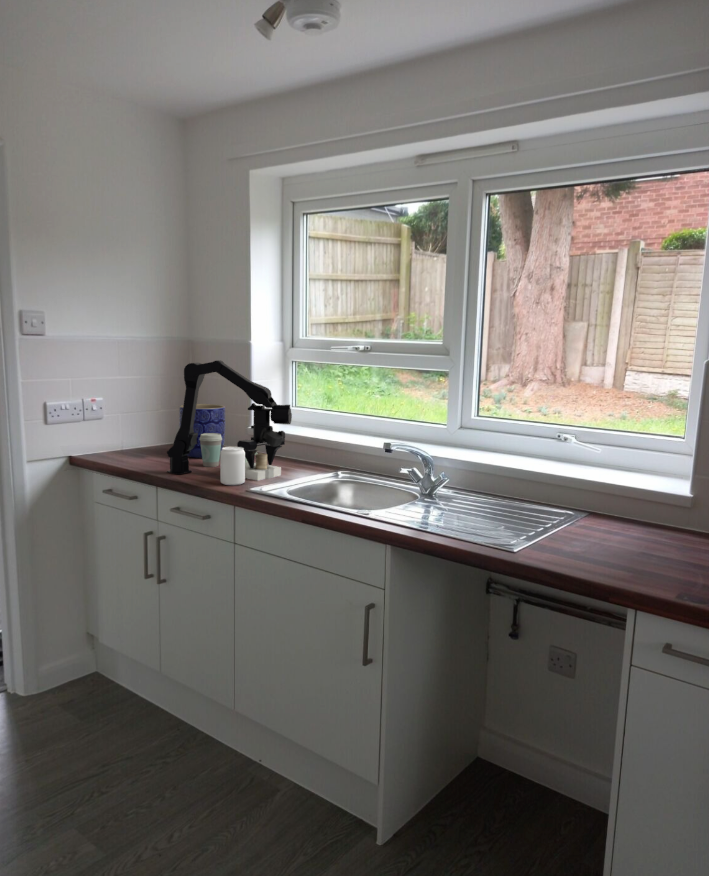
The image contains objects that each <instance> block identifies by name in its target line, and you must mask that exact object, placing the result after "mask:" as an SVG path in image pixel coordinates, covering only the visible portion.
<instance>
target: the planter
mask: <svg viewBox="0 0 709 876" xmlns="http://www.w3.org/2000/svg"><path fill="white" fill-rule="evenodd" d="M183 405H184V404H182V405H180V406H178V407H179V408H178V429H179V428H180V426H181V419H182V412H183ZM193 429H194V433H198V436H197V444H195V446H194V448H193V449H191V450H190V453H189V454H187V456H188V458H193V459H202V452H201V443H200V440H199V439H200V436H201V434H205V433H217V434H221V437H222V440H221V450H220V453H221V451H222V448H224V446H225V439H226V406H225V405H221V404H211V403H210V404H209V403H197V405H196V411H195V418H194V425H193Z"/></svg>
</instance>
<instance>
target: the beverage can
mask: <svg viewBox="0 0 709 876" xmlns="http://www.w3.org/2000/svg"><path fill="white" fill-rule="evenodd" d="M243 449H244V448H242V447H237V446H225V447H223V448H222V451H221V453H220V458H219V465H220V469H219V470H220V479H219V480H220V483H221V484H223V485H226V486H240V485H243V484H245V482H246V478H245V451H244V450H243Z"/></svg>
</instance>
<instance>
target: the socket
mask: <svg viewBox="0 0 709 876" xmlns="http://www.w3.org/2000/svg"><path fill="white" fill-rule="evenodd" d="M280 476H282V467H281V466H276V465H269V464H267V469H264V470H259V469H256V462H254V468H253V469H251V468H250V466H249V464H248V462H245V479H248V480H253V481H256V482H257V481H262V480H269V479H274V478H276V477H280Z"/></svg>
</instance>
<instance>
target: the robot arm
mask: <svg viewBox="0 0 709 876" xmlns="http://www.w3.org/2000/svg"><path fill="white" fill-rule="evenodd" d="M212 373H217V374H218V375H220V376H222V377H223V378H224V379H226V380H227V381H229V382H230V383H232V384H233V385H235V386H236V387H238V388H239V389H241V390H242V391H243V392H244V393H245V395H247V397H249V399H250V400H251V401H253V403H251V405H249V407H248V408H247V411H253V412H252V413H253V415H252V416H253V424H252V425H251V426H250V429H251V430H252V431H253V435H252V436H251V437H250V439H241V440H238V442H237V443H236V444H237V445H236V447H242V448H244V449H243V450H244V451H245V457H246V459H247V462H248V464H249V466H250V468H251V469H253V468H254V463H255V458H256V455H255V453H256V452H257V453H258V449H257V448H258V447H259V446H264V447H265V454H267V465H271V466H273V465H272V464H273V461H274V459H275V456H276V453H277V451H278V450H279V449H280V448H282V447H283V445H284V446H285V441H286V432H285V431H284V430H279V431H274V427H273V426H272V425H271V422H273V424H277V425H291V423H292V417H293V416H292V415H293V414H292V408H291V404H277V402H276V401H275V399H274V398H273V396H272V392H271V389H269V388H268V387H266V386H264V385H261V384H260V383H257V382H253V381H251V380H250V379H248V378H247V377H245V376H244V375H242V374H241V373H239V372H238V371H236V370H235V369H234V368H233V367H231V366H229V365H227V364H226V363H225V362H223V360H219V359H218V360H217V359H216V360H213V361H211V362H204V363H201V362H191V363H190V362H189V363H188V364H186V365H185V366H184V368H183V381H184V385H185V392H184V393H185V394H184V398H183V399H184V400H183V404H182V405H183V412H182V419H181V426H180V428H179V427H178V431H177V433H176V435H175V437H174V441H173V445H172V446H171V447H170V448H169V449H168V450H167V451H166V454H167V456H168V458H169V470H166V473H167V474H168V473H169V474H171V475H172V474H174V475H184V474H189V473H192V470H190V464H189V463H190V461H189V456H187V454H189V453H190V450H191V449H193V448H194V446H195V444H197V436H198V433H194V429H193V425H194V418H195V411H196V405H197V404H198V403H197V402H198V396H199V390H200V388H201V385H202V383H203V381H204V379H205V376H206V375H207V374H212Z"/></svg>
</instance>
